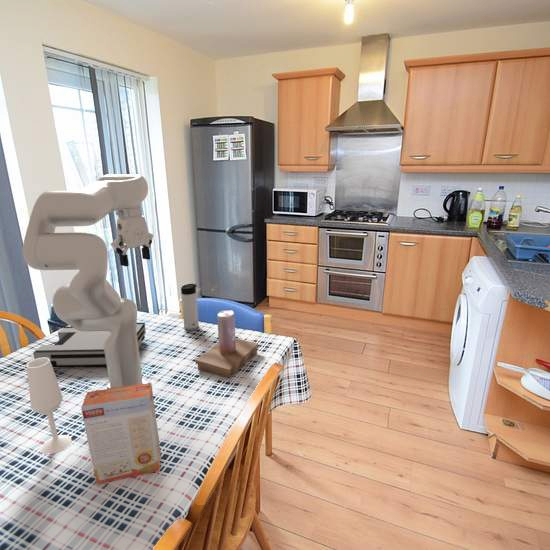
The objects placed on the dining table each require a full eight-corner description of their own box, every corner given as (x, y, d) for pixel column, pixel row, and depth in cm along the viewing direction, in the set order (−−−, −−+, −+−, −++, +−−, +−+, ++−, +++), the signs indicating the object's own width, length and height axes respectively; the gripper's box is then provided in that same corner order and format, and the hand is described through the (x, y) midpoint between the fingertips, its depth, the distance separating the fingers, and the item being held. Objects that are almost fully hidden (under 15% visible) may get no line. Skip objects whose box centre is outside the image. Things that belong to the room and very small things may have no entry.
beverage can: (227, 345, 135) (226, 308, 130) (239, 350, 131) (237, 312, 127) (215, 352, 130) (213, 313, 126) (227, 357, 127) (225, 318, 122)
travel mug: (197, 331, 156) (194, 287, 150) (182, 331, 156) (178, 287, 150) (201, 324, 161) (197, 282, 155) (186, 324, 162) (182, 282, 156)
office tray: (67, 342, 147) (64, 323, 145) (146, 340, 148) (144, 322, 145) (37, 370, 127) (32, 349, 125) (128, 368, 128) (125, 348, 126)
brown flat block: (229, 380, 120) (229, 369, 119) (196, 369, 126) (195, 359, 125) (258, 353, 137) (258, 343, 136) (228, 345, 144) (227, 336, 142)
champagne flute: (43, 439, 95) (24, 358, 88) (72, 432, 98) (56, 353, 90) (39, 457, 89) (18, 372, 82) (70, 449, 92) (52, 366, 85)
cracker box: (161, 453, 90) (152, 380, 84) (160, 472, 85) (150, 396, 79) (100, 464, 87) (86, 389, 81) (95, 484, 82) (80, 406, 75)
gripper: (116, 217, 111) (123, 270, 117) (157, 210, 126) (162, 257, 131) (99, 215, 115) (107, 267, 120) (141, 209, 129) (146, 255, 135)
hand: (136, 262), depth 126 cm, fingers open, 9 cm apart
